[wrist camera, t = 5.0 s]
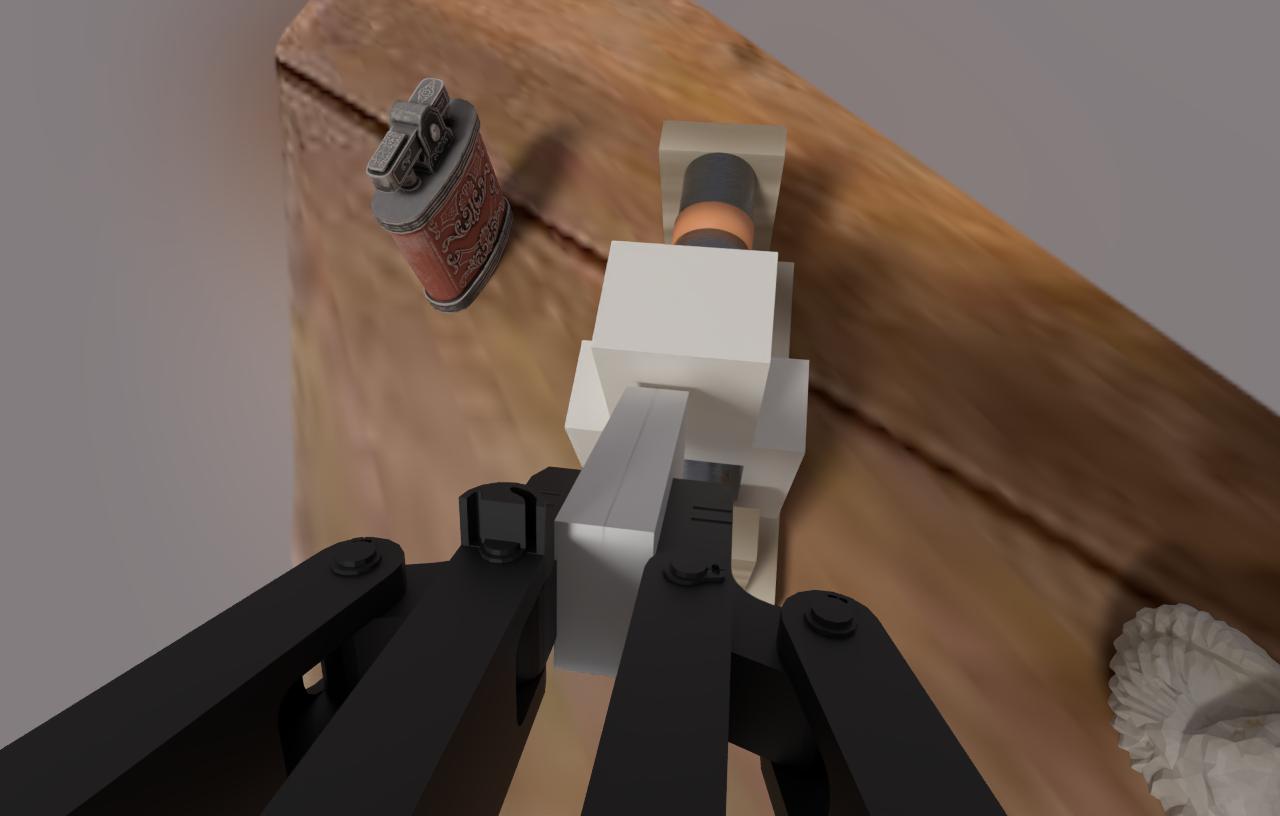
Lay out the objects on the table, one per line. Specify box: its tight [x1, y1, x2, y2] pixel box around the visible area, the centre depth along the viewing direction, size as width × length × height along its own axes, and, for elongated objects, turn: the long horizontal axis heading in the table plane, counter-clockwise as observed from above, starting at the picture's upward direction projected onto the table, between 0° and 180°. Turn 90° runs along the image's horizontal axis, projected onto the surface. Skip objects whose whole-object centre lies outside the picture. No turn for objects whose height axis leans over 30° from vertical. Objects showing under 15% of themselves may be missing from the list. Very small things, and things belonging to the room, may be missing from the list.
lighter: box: [366, 78, 513, 314], centre depth 34 cm, size 8×3×10 cm, turn 162°
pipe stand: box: [659, 120, 794, 605], centre depth 28 cm, size 18×8×11 cm, turn 172°
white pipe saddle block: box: [565, 241, 809, 519], centre depth 21 cm, size 3×7×12 cm, turn 82°
